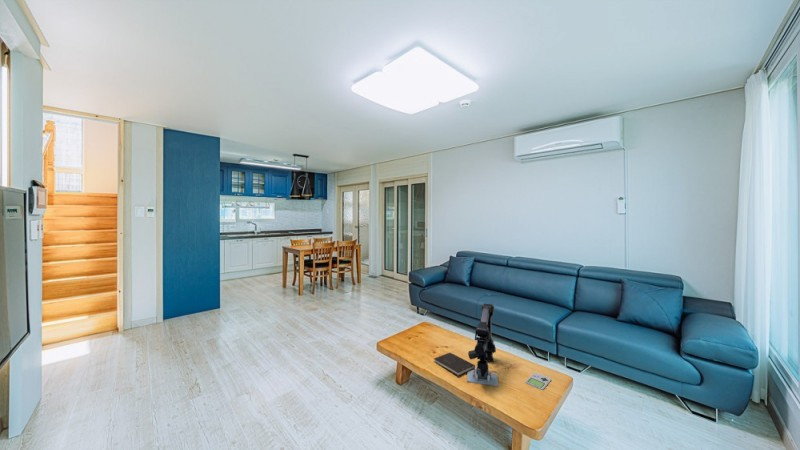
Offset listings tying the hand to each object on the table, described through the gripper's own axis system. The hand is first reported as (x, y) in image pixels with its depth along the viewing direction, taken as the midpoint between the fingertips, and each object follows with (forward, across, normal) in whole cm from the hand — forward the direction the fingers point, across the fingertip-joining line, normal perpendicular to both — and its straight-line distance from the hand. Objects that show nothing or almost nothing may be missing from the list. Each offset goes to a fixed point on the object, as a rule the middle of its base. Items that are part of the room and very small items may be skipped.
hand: (482, 372), depth 172 cm
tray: (+4, 0, 0) cm, 4 cm away
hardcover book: (+4, -11, -18) cm, 21 cm away
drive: (+3, 0, 0) cm, 3 cm away
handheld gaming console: (+4, -5, +33) cm, 34 cm away
